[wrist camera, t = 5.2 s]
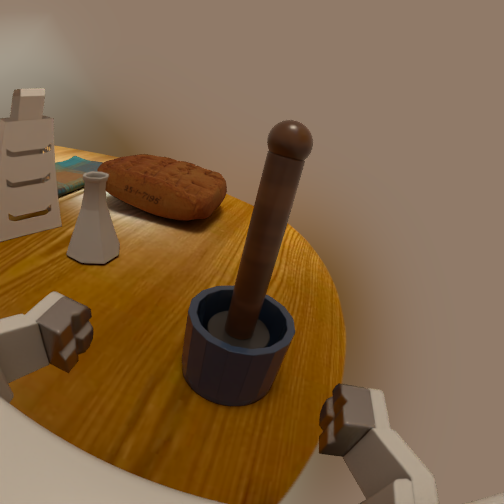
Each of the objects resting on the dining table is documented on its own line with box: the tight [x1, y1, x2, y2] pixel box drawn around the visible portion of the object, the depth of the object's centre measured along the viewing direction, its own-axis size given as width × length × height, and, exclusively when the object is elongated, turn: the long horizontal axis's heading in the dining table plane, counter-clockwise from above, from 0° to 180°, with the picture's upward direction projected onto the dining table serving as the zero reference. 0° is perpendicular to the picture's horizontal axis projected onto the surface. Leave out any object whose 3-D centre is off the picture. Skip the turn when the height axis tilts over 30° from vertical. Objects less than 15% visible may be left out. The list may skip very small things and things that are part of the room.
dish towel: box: [44, 156, 102, 197], centre depth 57 cm, size 17×23×2 cm
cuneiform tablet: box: [97, 154, 227, 220], centre depth 53 cm, size 22×17×8 cm
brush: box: [206, 120, 313, 349], centre depth 20 cm, size 5×5×19 cm
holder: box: [182, 286, 295, 406], centre depth 23 cm, size 8×8×6 cm
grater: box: [0, 88, 62, 242], centre depth 33 cm, size 10×10×20 cm
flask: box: [67, 171, 120, 264], centre depth 33 cm, size 7×7×10 cm
